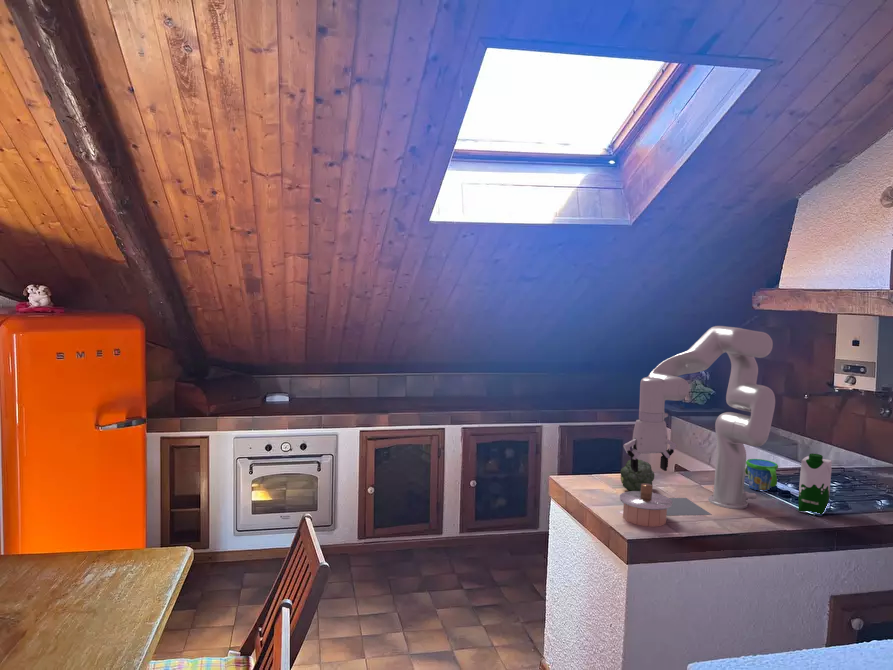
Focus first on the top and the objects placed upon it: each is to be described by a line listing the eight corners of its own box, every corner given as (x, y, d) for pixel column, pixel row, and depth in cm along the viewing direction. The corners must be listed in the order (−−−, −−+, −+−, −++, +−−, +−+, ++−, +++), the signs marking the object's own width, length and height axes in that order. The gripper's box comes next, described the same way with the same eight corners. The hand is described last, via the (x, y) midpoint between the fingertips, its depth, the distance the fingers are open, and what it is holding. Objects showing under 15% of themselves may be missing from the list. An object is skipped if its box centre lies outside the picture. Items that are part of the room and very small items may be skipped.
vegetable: (645, 477, 263) (666, 469, 249) (630, 504, 257) (651, 498, 244) (619, 457, 263) (639, 448, 249) (603, 484, 257) (623, 477, 244)
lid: (657, 493, 231) (658, 477, 230) (681, 509, 215) (683, 492, 214) (611, 493, 228) (612, 477, 227) (632, 510, 212) (633, 493, 212)
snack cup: (785, 496, 253) (787, 468, 252) (757, 495, 252) (759, 468, 251) (762, 483, 268) (764, 457, 267) (736, 482, 267) (737, 456, 266)
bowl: (654, 512, 229) (655, 494, 229) (673, 526, 216) (674, 508, 216) (616, 513, 227) (617, 495, 227) (633, 527, 214) (634, 508, 214)
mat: (686, 498, 245) (686, 497, 245) (711, 515, 228) (711, 514, 228) (640, 499, 242) (640, 498, 242) (662, 516, 225) (663, 515, 225)
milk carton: (794, 512, 235) (799, 453, 233) (801, 505, 242) (806, 449, 240) (823, 518, 230) (829, 458, 228) (830, 512, 236) (835, 454, 235)
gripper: (671, 413, 224) (669, 465, 226) (620, 414, 221) (618, 467, 223) (683, 418, 217) (680, 472, 218) (630, 420, 214) (628, 474, 216)
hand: (649, 470), depth 221 cm, fingers open, 9 cm apart
